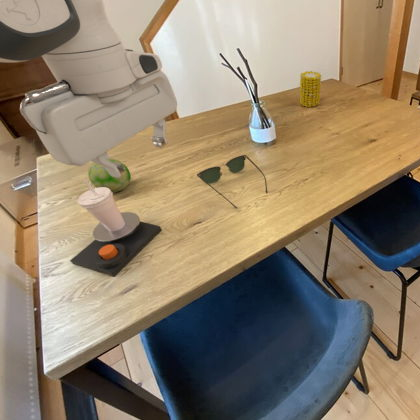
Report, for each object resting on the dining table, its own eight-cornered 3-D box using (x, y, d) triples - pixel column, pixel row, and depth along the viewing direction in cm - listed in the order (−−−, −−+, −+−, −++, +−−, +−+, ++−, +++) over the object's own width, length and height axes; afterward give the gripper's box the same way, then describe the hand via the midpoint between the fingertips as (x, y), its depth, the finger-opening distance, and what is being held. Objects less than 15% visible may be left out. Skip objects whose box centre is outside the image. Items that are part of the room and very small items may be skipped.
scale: (114, 277, 61) (106, 269, 59) (73, 264, 63) (65, 256, 61) (162, 229, 71) (157, 221, 69) (125, 220, 74) (119, 212, 72)
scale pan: (117, 246, 63) (115, 245, 63) (83, 237, 66) (82, 235, 65) (149, 217, 70) (148, 216, 70) (118, 210, 73) (117, 208, 72)
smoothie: (122, 235, 65) (87, 189, 56) (95, 235, 65) (56, 188, 56) (136, 216, 70) (106, 171, 60) (111, 216, 70) (77, 170, 60)
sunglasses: (226, 214, 76) (222, 200, 72) (200, 186, 85) (195, 173, 82) (276, 189, 84) (274, 175, 80) (247, 166, 93) (244, 153, 90)
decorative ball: (92, 194, 82) (71, 166, 76) (122, 176, 89) (106, 149, 82) (115, 203, 79) (95, 174, 73) (144, 183, 86) (128, 156, 79)
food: (308, 102, 138) (323, 108, 133) (291, 103, 130) (306, 110, 125) (313, 69, 130) (329, 74, 125) (295, 68, 122) (311, 74, 117)
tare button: (110, 261, 61) (105, 256, 60) (99, 258, 61) (95, 253, 60) (121, 251, 63) (117, 246, 62) (110, 248, 64) (106, 243, 62)
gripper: (31, 101, 29) (103, 201, 38) (166, 53, 43) (195, 134, 53) (-11, 95, 30) (69, 193, 40) (134, 50, 45) (167, 130, 54)
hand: (142, 159), depth 46 cm, fingers open, 8 cm apart
